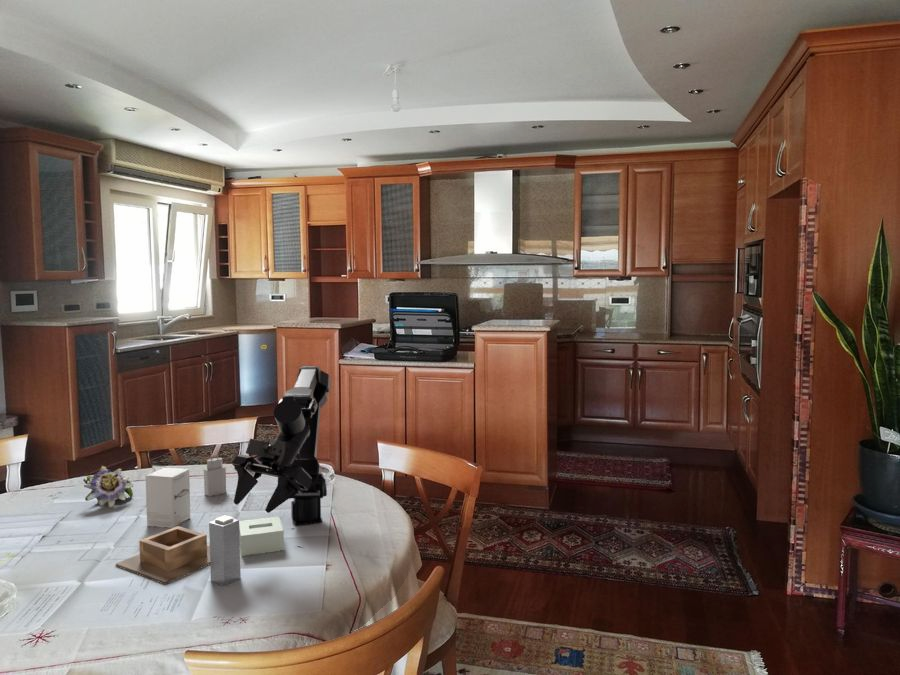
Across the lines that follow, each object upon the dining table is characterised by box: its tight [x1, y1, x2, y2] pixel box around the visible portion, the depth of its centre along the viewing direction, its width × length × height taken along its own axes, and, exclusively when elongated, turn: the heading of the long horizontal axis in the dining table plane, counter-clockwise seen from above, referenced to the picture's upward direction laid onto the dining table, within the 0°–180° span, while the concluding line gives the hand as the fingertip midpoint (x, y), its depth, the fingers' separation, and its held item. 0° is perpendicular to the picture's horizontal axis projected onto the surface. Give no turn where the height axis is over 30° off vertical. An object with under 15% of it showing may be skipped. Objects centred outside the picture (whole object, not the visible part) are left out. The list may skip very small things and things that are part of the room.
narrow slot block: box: [239, 516, 285, 557], centre depth 148 cm, size 9×9×4 cm
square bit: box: [208, 514, 241, 587], centre depth 131 cm, size 4×4×13 cm
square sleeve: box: [115, 525, 210, 585], centre depth 140 cm, size 16×16×5 cm
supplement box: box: [145, 467, 191, 529], centre depth 161 cm, size 7×7×13 cm
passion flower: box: [83, 465, 134, 509], centre depth 175 cm, size 11×11×12 cm
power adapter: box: [203, 449, 227, 497], centre depth 183 cm, size 3×5×12 cm, turn 135°
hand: (250, 507), depth 136 cm, fingers open, 9 cm apart
